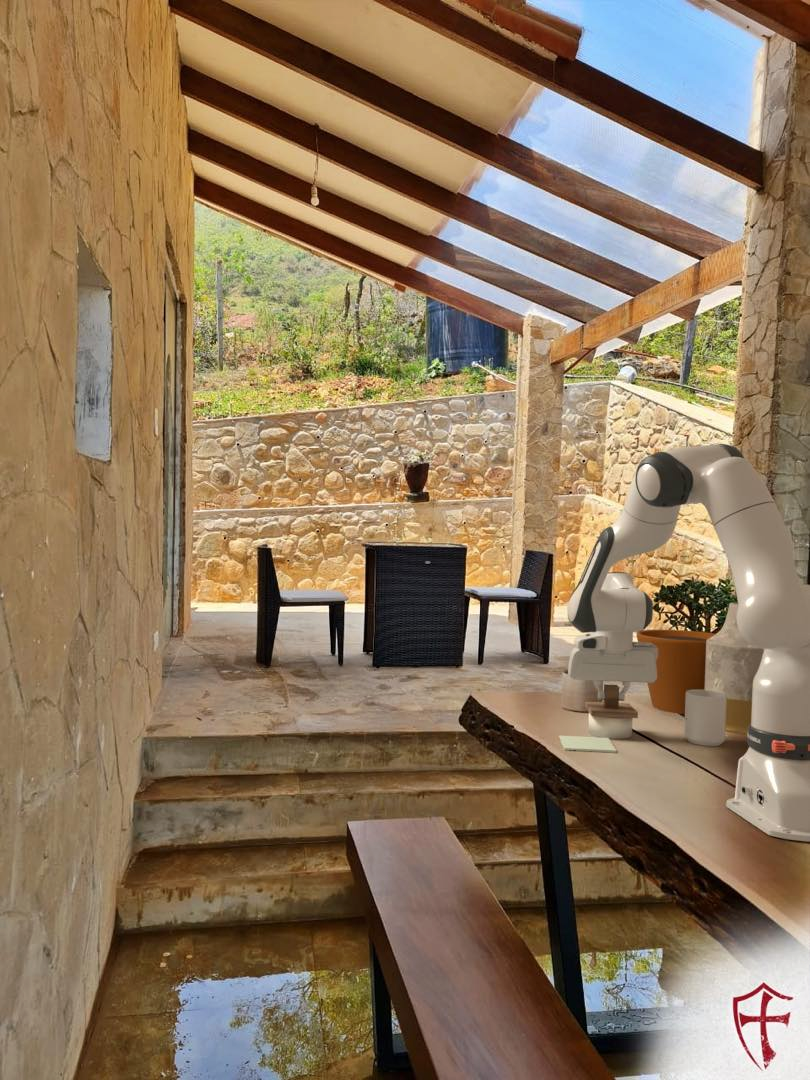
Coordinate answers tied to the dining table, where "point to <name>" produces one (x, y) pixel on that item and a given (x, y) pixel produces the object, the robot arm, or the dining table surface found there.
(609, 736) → the disc with square top
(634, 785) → the dining table surface
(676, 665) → the flower pot
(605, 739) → the mat
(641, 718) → the dining table surface
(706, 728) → the mug
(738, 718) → the vase
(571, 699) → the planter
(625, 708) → the lid
